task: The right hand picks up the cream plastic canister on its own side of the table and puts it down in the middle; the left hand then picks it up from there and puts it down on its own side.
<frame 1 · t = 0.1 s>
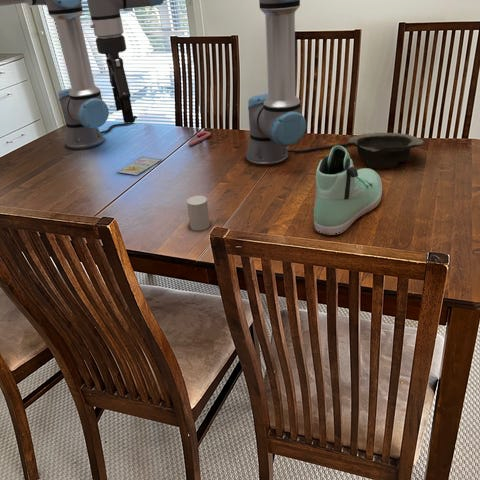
right hand: (125, 115, 137), 28 cm above the table, tool pointing down, fingers open, 13 cm apart
candy cane: (198, 140, 198), on the table
sneaker: (348, 208, 139), on the table
canister: (200, 225, 136), on the table
stone bowl: (382, 159, 168), on the table
baking ingredient package: (139, 166, 178), on the table
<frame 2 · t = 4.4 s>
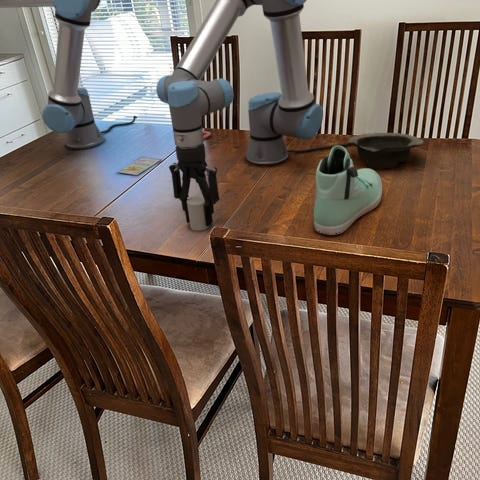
right hand: (199, 222, 136), 1 cm above the table, tool pointing down, fingers closed on canister, 6 cm apart
canister: (200, 225, 136), on the table, touching right hand
everything else where it was.
when the right hand's fingers open (3 cm above the table, at t = 15.8 s): canister drops 2 cm, on the table.
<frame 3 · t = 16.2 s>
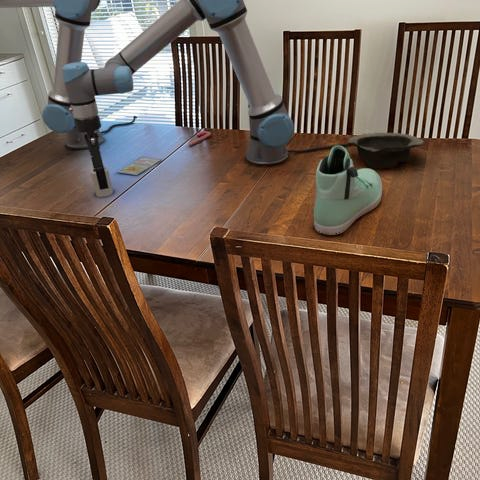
right hand: (101, 181, 158), 4 cm above the table, tool pointing down, fingers open, 12 cm apart
canister: (104, 193, 160), on the table
everything else where it was.
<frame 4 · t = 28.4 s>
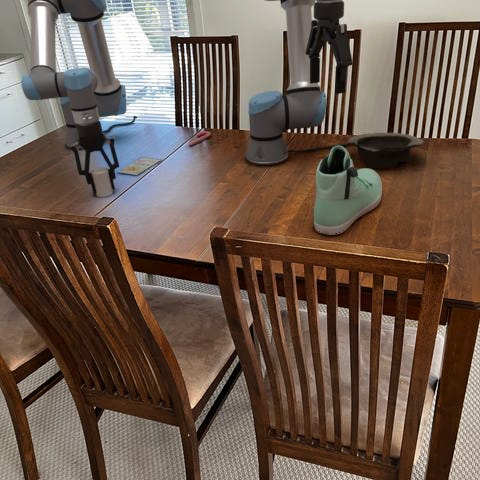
left hand: (104, 190, 159), 1 cm above the table, tool pointing down, fingers closed on canister, 6 cm apart
right hand: (326, 87, 130), 33 cm above the table, tool pointing down, fingers open, 13 cm apart
canister: (104, 193, 160), on the table, touching left hand
everything else where it was.
when the left hand's fingers open (3 cm above the table, at t = 33.9 s): canister drops 2 cm, on the table.
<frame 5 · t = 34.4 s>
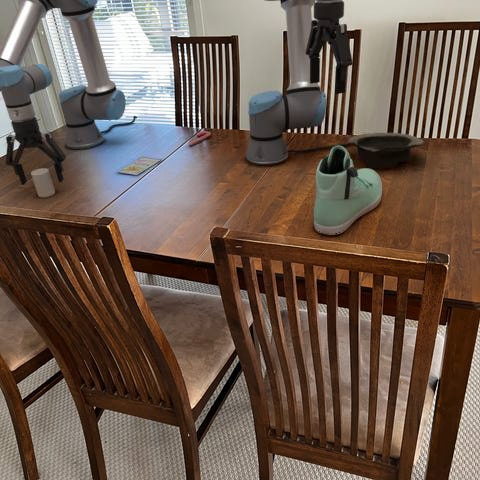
left hand: (42, 182, 161), 4 cm above the table, tool pointing down, fingers open, 12 cm apart
right hand: (326, 87, 130), 33 cm above the table, tool pointing down, fingers open, 13 cm apart
canister: (46, 193, 163), on the table
everything else where it was.
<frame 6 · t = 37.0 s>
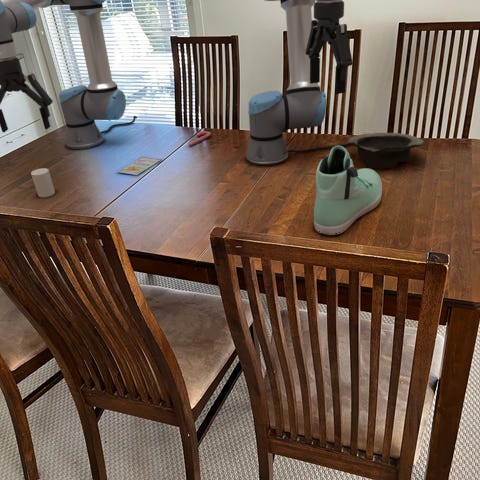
left hand: (26, 129, 151), 22 cm above the table, tool pointing down, fingers open, 13 cm apart
right hand: (326, 87, 130), 33 cm above the table, tool pointing down, fingers open, 13 cm apart
nothing on the table moved.
at the end: canister inside the target area (0.0 cm from its centre), on the table; canister tilted 0°; the two hands never held the canister at the same time; the left hand is holding nothing; the right hand is holding nothing; canister at rest at the end (0.0 cm/s) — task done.
